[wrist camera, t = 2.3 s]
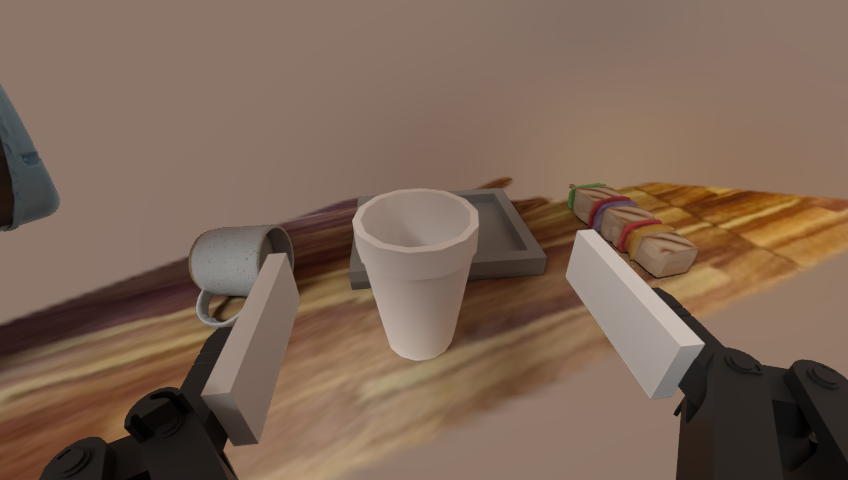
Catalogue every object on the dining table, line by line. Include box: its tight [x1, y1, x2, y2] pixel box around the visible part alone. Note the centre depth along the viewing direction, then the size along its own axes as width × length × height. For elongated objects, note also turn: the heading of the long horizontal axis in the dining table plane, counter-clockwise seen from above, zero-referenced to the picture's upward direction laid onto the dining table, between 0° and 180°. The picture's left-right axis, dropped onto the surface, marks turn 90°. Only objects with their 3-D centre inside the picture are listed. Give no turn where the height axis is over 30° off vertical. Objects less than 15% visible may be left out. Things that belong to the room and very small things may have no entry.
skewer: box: [567, 183, 699, 278], centre depth 46 cm, size 21×6×5 cm, turn 13°
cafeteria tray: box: [349, 188, 547, 289], centre depth 46 cm, size 22×18×2 cm
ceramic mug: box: [189, 225, 294, 329], centre depth 36 cm, size 11×8×8 cm
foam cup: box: [352, 188, 479, 361], centre depth 29 cm, size 10×9×13 cm
